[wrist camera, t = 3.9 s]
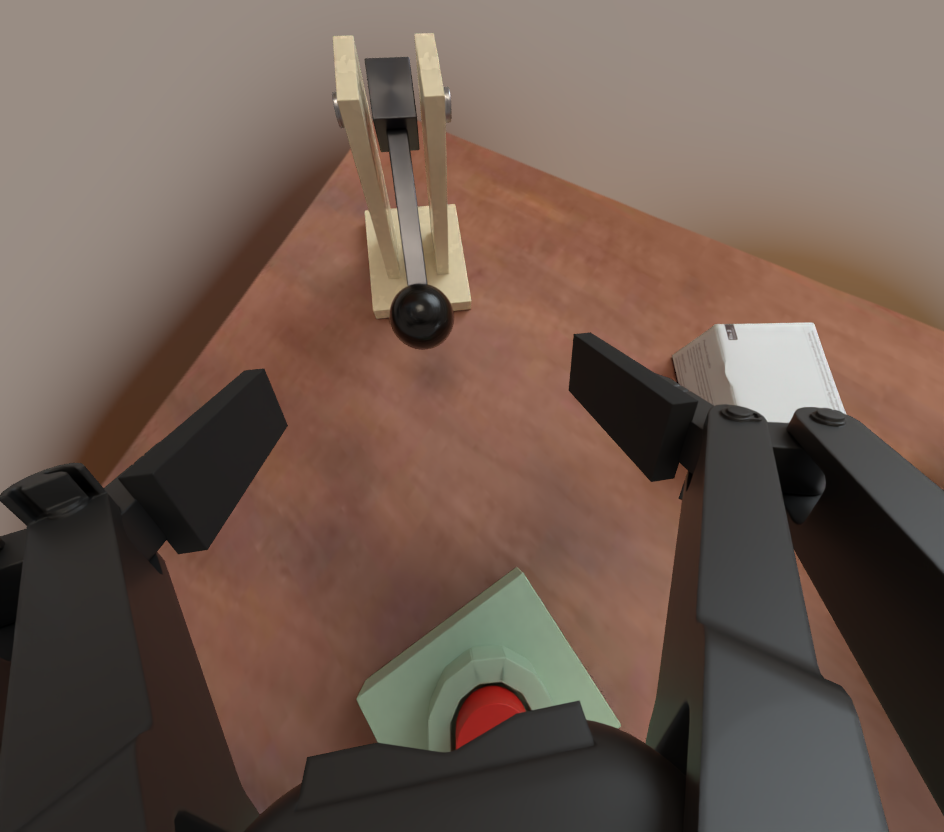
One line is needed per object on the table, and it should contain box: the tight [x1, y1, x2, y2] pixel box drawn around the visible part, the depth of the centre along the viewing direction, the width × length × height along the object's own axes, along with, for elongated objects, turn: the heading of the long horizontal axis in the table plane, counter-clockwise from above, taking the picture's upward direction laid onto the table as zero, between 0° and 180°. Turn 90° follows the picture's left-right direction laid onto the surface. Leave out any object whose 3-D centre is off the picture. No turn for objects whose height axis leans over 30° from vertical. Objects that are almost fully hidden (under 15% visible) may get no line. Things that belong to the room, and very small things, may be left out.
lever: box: [365, 57, 454, 350], centre depth 18 cm, size 14×4×4 cm, turn 9°
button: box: [456, 686, 526, 749], centre depth 17 cm, size 4×4×2 cm
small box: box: [672, 323, 846, 423], centre depth 25 cm, size 8×8×5 cm
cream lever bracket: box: [332, 33, 471, 319], centre depth 23 cm, size 10×8×14 cm
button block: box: [356, 567, 621, 752], centre depth 19 cm, size 12×10×4 cm
